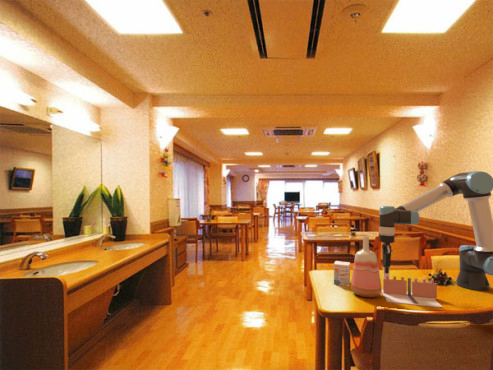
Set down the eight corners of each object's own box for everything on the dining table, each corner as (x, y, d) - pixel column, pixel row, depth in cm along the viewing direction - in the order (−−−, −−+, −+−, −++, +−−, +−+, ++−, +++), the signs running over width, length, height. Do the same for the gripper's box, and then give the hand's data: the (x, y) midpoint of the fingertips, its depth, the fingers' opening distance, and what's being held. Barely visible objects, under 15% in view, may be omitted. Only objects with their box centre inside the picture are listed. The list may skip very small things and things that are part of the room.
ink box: (333, 284, 164) (333, 263, 165) (334, 280, 172) (334, 260, 173) (349, 286, 161) (349, 265, 161) (350, 282, 169) (350, 261, 169)
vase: (379, 302, 137) (379, 239, 138) (348, 296, 145) (348, 236, 146) (383, 293, 150) (383, 236, 151) (354, 288, 157) (354, 233, 158)
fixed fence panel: (435, 297, 144) (435, 279, 144) (436, 298, 142) (436, 280, 143) (407, 294, 147) (407, 277, 147) (408, 295, 146) (408, 278, 146)
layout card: (429, 294, 149) (429, 293, 149) (442, 307, 131) (442, 306, 131) (380, 290, 155) (380, 289, 155) (387, 301, 138) (387, 300, 138)
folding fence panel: (406, 294, 147) (406, 277, 148) (406, 295, 146) (406, 278, 146) (383, 292, 150) (383, 275, 150) (383, 292, 149) (383, 276, 149)
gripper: (377, 232, 163) (376, 274, 162) (381, 235, 150) (380, 281, 150) (391, 233, 161) (391, 276, 160) (397, 236, 148) (396, 283, 148)
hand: (386, 278), depth 155 cm, fingers closed
